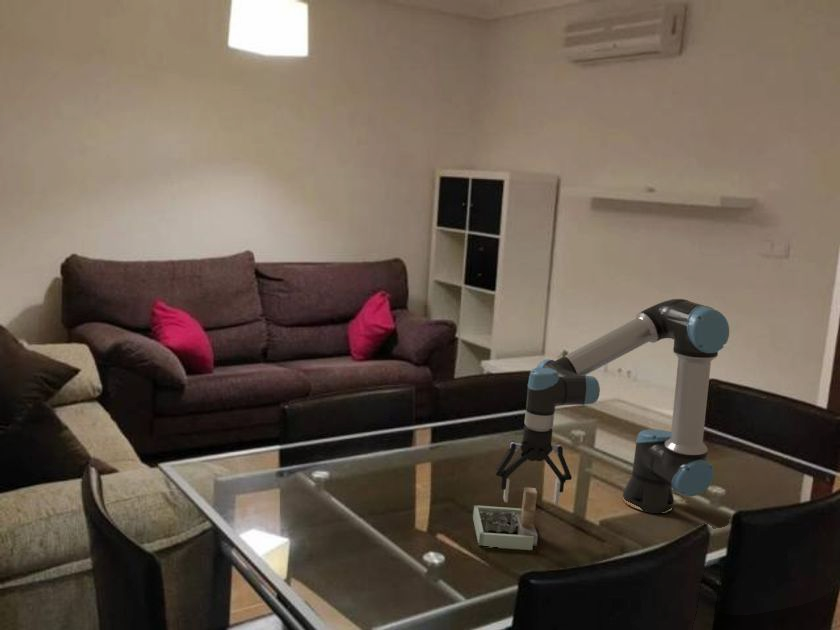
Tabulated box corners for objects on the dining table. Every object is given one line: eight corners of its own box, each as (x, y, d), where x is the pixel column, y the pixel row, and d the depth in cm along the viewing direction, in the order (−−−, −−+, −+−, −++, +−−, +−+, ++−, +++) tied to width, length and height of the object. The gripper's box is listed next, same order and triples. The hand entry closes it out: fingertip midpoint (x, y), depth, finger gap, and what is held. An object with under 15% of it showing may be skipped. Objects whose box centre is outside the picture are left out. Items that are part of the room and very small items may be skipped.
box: (522, 520, 219) (523, 508, 218) (532, 550, 203) (533, 537, 202) (472, 516, 219) (474, 505, 218) (478, 546, 202) (480, 534, 201)
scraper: (528, 524, 217) (534, 481, 214) (536, 546, 205) (542, 500, 203) (514, 524, 217) (519, 480, 214) (521, 545, 205) (527, 499, 202)
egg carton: (478, 532, 210) (479, 518, 210) (476, 519, 218) (477, 506, 217) (517, 535, 210) (519, 521, 210) (514, 522, 218) (516, 509, 217)
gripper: (581, 424, 209) (573, 497, 213) (489, 419, 208) (482, 493, 212) (588, 434, 202) (579, 510, 206) (493, 428, 201) (485, 505, 205)
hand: (530, 501), depth 209 cm, fingers open, 13 cm apart
